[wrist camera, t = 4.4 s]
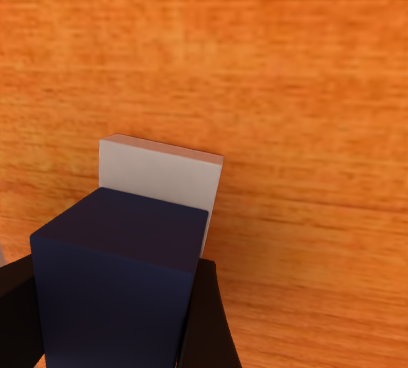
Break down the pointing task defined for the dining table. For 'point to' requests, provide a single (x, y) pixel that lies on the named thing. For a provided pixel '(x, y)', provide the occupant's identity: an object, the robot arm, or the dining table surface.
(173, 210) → the navy blue rectangular block
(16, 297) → the robot arm
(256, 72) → the dining table surface
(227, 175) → the dining table surface
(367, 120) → the dining table surface
